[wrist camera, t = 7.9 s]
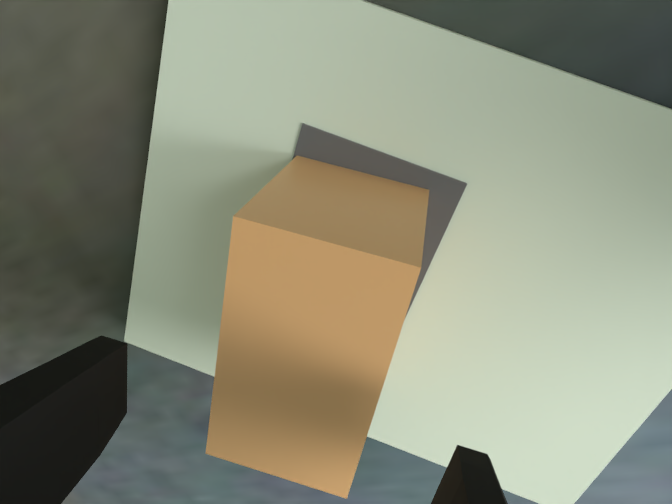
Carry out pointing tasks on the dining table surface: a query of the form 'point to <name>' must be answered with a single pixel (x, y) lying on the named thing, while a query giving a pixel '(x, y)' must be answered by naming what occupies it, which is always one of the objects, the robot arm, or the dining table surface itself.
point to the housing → (312, 319)
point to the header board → (430, 221)
